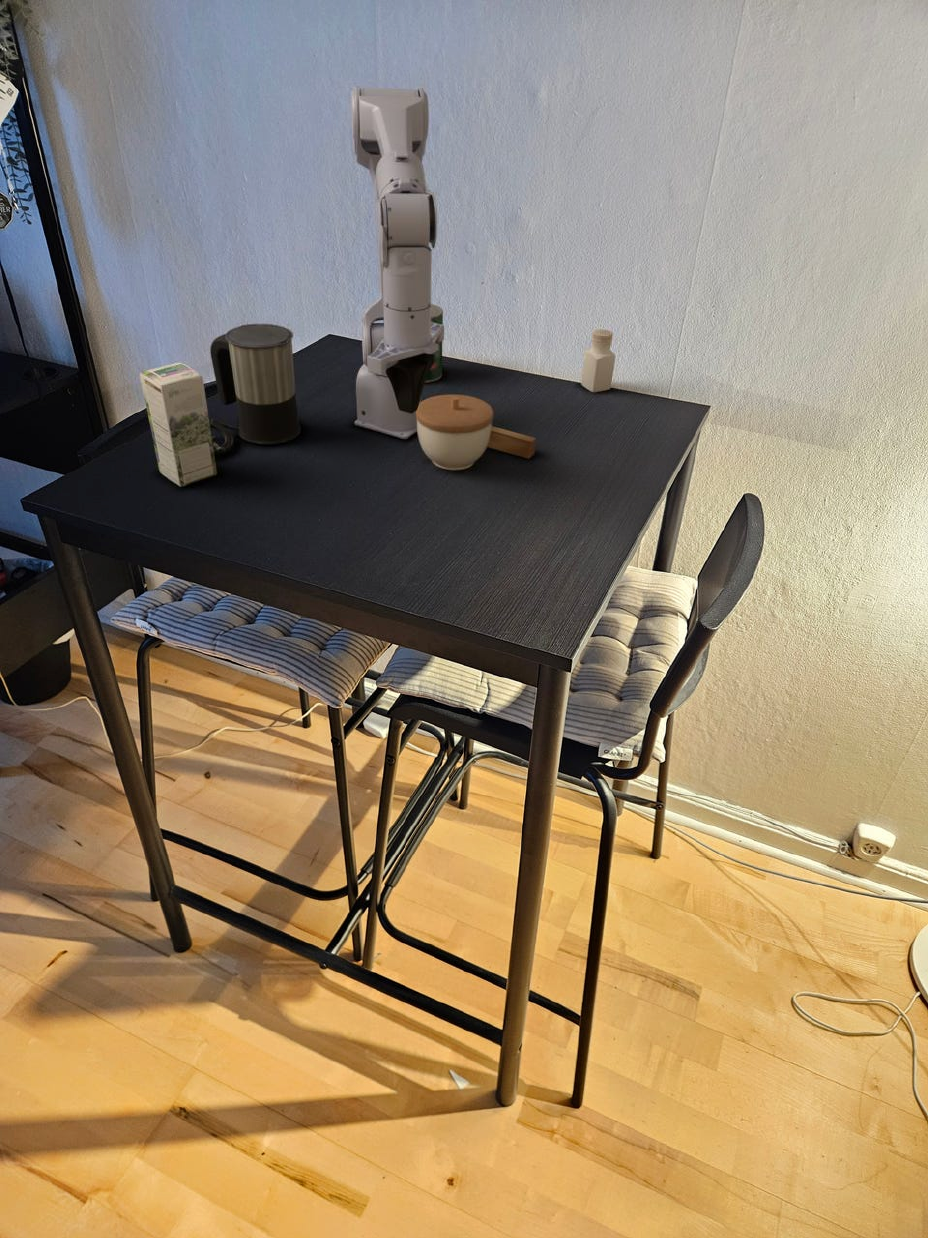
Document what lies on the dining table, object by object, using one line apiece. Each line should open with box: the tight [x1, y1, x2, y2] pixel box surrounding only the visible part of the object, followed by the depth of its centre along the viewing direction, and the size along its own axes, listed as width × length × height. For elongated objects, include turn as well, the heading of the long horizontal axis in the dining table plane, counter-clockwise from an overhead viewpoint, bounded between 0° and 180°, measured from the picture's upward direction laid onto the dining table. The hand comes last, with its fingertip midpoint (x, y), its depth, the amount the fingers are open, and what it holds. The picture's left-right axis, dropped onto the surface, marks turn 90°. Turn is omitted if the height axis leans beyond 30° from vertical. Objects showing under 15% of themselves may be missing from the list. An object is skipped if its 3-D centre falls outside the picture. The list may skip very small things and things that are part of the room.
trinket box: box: [416, 393, 494, 471], centre depth 117 cm, size 11×11×9 cm
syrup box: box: [139, 361, 218, 488], centre depth 110 cm, size 6×6×14 cm
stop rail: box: [487, 425, 537, 459], centre depth 124 cm, size 16×2×3 cm, turn 60°
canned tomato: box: [424, 303, 444, 384], centre depth 141 cm, size 8×8×11 cm
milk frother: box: [209, 323, 302, 456], centre depth 118 cm, size 14×16×15 cm
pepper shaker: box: [580, 328, 616, 393], centre depth 140 cm, size 4×4×10 cm
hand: (408, 410), depth 108 cm, fingers closed
